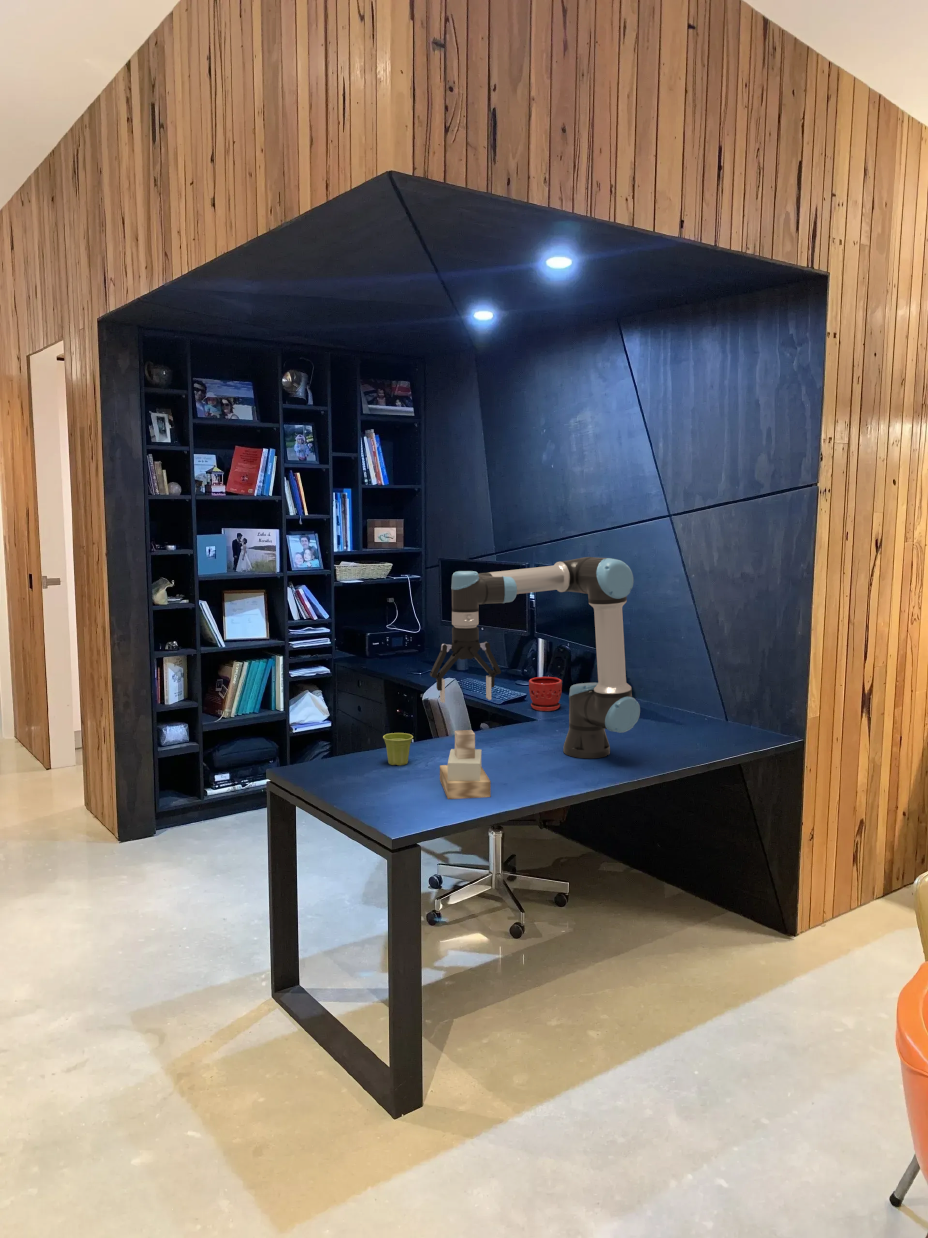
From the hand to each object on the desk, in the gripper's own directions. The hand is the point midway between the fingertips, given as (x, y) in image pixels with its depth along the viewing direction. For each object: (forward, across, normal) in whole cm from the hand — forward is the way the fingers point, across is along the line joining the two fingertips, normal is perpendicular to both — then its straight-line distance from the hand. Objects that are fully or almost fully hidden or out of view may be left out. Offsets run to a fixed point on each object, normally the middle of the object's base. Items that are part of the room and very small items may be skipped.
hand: (465, 700), depth 260 cm
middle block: (+21, 0, 0) cm, 21 cm away
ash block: (+16, 0, 0) cm, 16 cm away
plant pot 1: (+26, -14, +30) cm, 42 cm away
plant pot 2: (+26, +57, +91) cm, 110 cm away
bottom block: (+26, -1, 0) cm, 26 cm away
